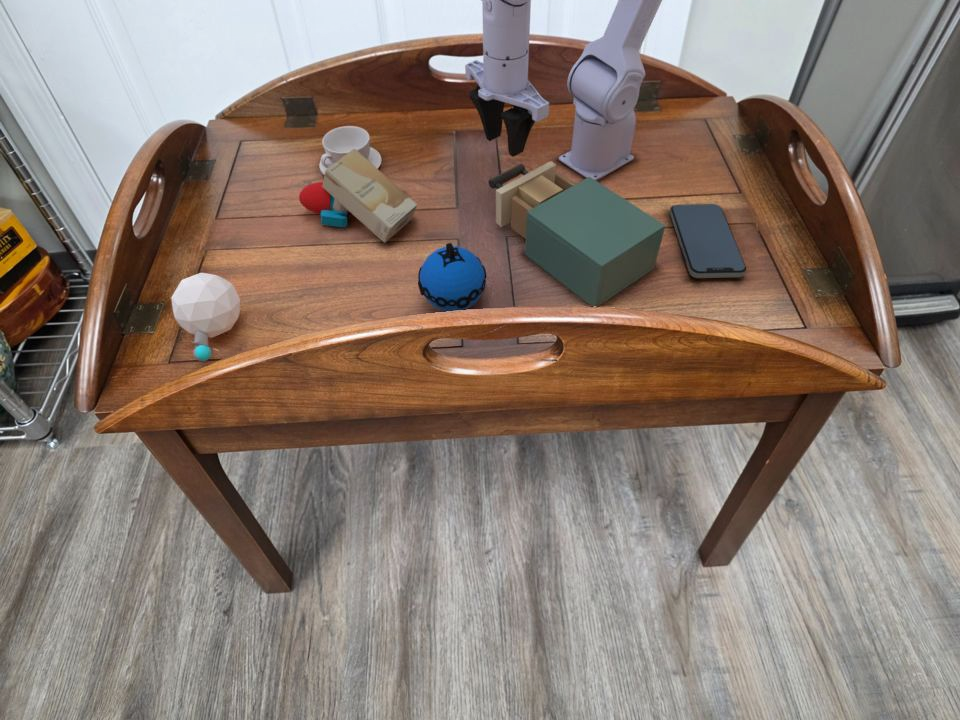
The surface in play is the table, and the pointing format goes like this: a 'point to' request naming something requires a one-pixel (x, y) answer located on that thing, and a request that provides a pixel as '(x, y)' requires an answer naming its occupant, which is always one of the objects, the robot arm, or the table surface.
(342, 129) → the teacup
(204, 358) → the perfume bottle
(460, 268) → the ornament
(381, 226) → the cosmetic box
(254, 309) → the table surface
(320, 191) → the toy figure
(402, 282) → the table surface
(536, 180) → the block
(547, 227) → the cabinet
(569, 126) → the table surface
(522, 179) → the drawer
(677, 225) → the smartphone
